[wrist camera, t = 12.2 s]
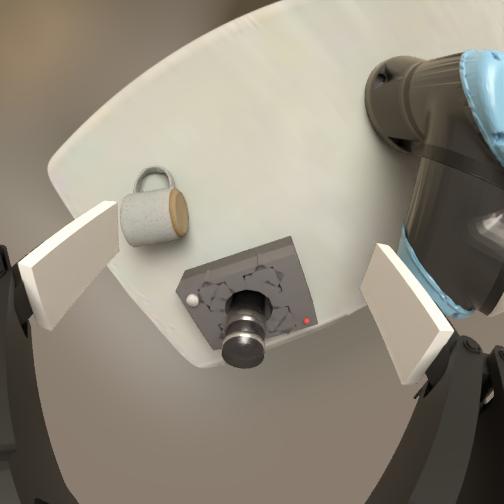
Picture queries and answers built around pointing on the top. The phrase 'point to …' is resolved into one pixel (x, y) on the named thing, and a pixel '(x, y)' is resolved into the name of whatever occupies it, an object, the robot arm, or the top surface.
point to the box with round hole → (249, 278)
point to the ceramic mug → (153, 213)
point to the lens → (245, 330)
